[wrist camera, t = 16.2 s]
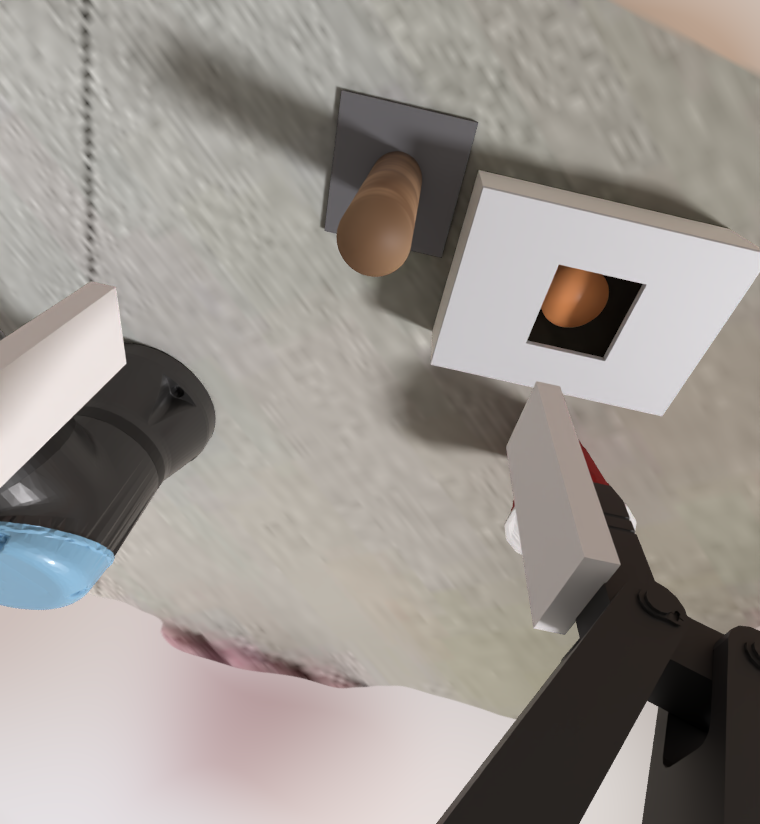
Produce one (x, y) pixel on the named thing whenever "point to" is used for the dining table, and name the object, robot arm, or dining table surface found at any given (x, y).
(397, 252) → the wooden rod
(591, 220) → the box
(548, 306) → the orange dome button
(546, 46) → the dining table surface
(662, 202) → the dining table surface
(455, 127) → the pad
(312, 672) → the dining table surface
